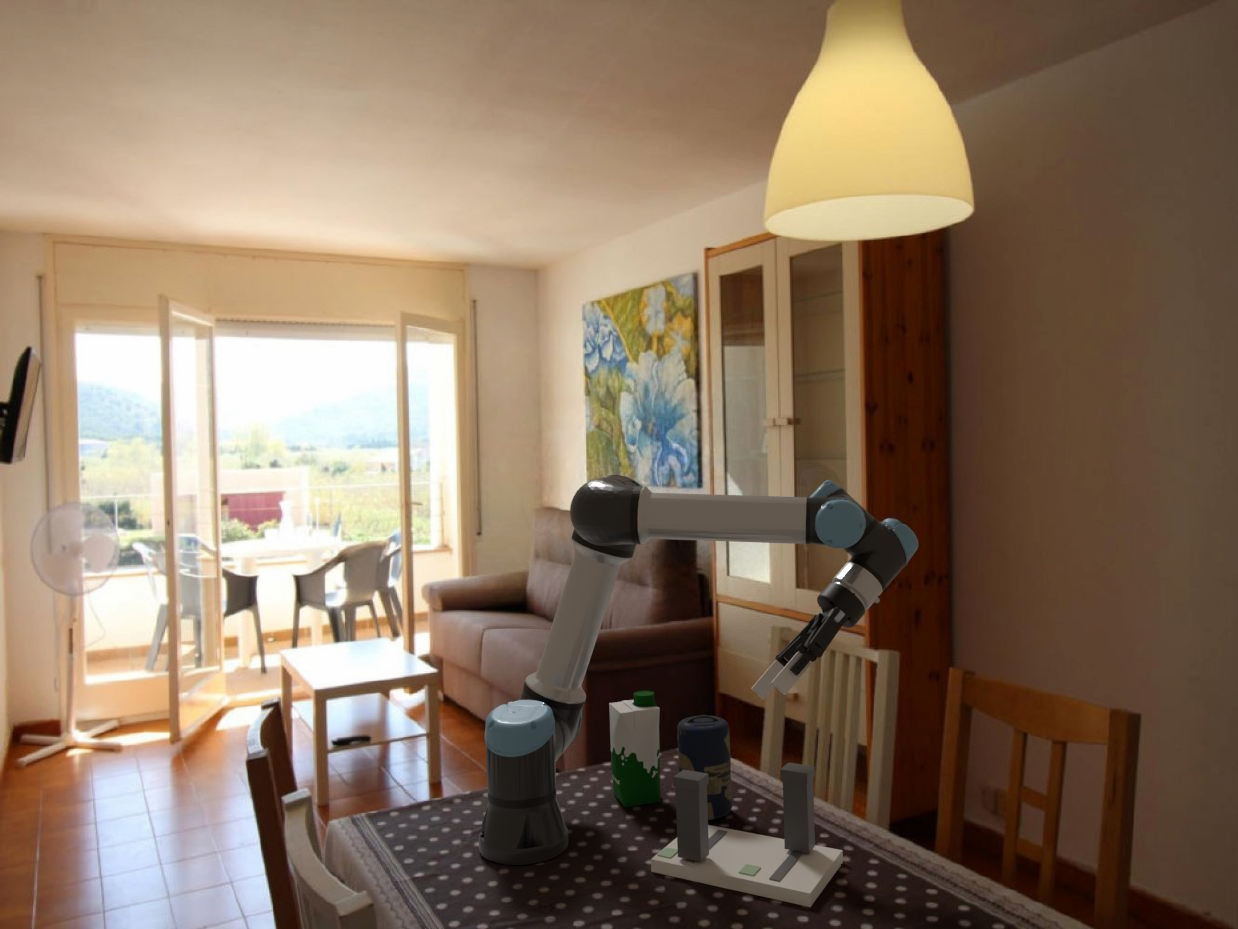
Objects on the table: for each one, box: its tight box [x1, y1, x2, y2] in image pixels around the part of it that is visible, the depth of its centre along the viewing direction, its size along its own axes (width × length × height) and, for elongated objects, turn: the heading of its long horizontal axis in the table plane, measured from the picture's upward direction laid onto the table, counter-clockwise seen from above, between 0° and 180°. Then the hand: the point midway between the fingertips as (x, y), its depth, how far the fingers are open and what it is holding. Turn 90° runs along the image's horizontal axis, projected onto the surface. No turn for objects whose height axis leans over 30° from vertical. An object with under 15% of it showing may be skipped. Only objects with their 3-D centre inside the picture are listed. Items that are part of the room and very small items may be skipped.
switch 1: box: [672, 770, 709, 862], centre depth 149 cm, size 4×4×13 cm
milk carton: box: [608, 690, 662, 808], centre depth 180 cm, size 9×9×20 cm
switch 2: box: [779, 762, 816, 853], centre depth 151 cm, size 4×4×13 cm
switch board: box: [650, 824, 844, 908], centre depth 150 cm, size 26×16×2 cm, turn 60°
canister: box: [676, 714, 733, 821], centre depth 172 cm, size 10×10×18 cm
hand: (767, 691), depth 151 cm, fingers open, 13 cm apart
